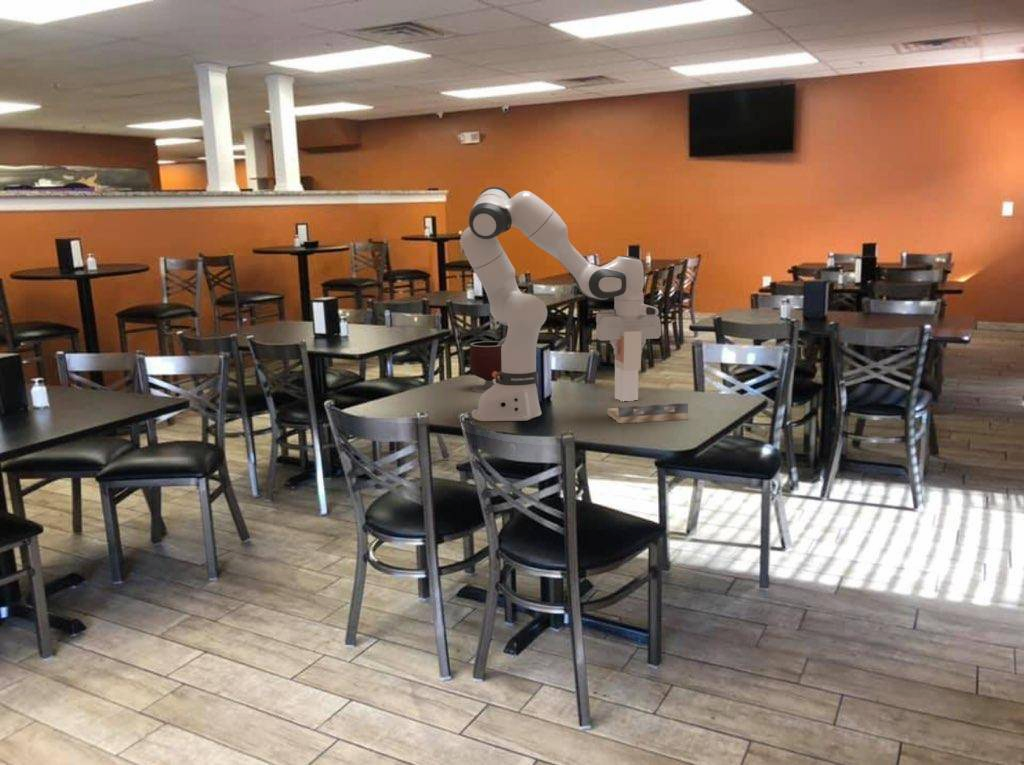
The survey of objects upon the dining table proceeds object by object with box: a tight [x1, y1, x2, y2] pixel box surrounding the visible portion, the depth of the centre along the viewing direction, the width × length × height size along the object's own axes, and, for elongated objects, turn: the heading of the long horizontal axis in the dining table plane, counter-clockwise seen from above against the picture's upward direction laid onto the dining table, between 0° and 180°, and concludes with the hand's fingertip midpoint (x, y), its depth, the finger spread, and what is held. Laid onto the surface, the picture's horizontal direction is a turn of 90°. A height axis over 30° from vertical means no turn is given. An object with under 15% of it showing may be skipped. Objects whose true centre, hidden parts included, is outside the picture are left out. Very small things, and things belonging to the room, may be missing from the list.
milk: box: [614, 358, 639, 403], centre depth 287 cm, size 6×6×22 cm
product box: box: [614, 331, 642, 371], centre depth 259 cm, size 8×6×12 cm
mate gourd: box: [469, 337, 506, 394], centre depth 308 cm, size 16×14×20 cm
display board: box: [607, 402, 689, 424], centre depth 263 cm, size 22×12×5 cm, turn 101°
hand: (627, 353), depth 259 cm, fingers closed on product box, 6 cm apart
